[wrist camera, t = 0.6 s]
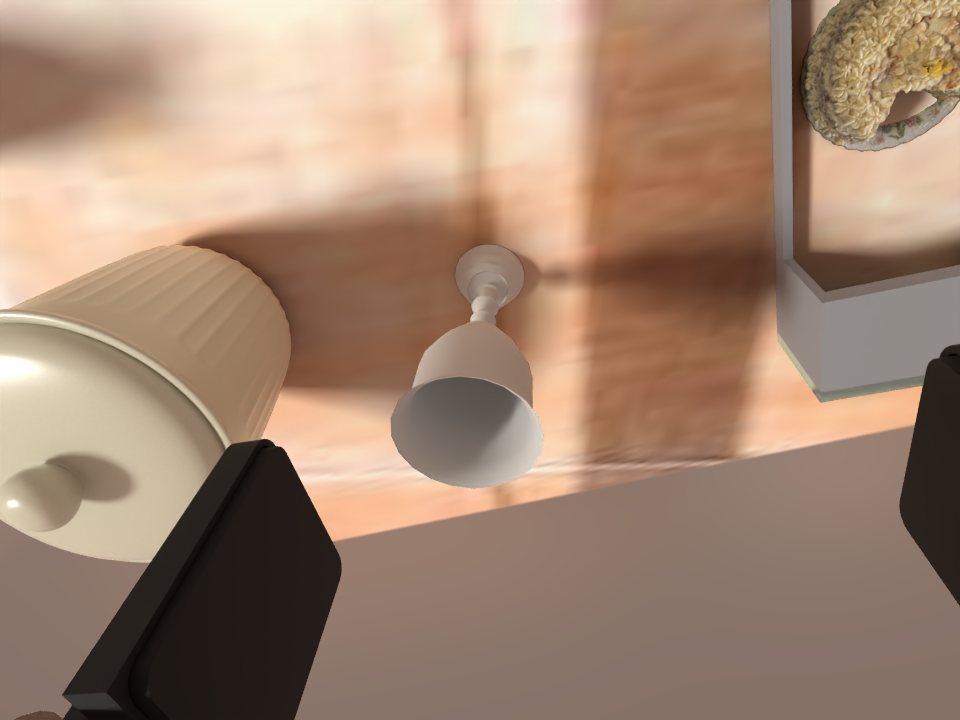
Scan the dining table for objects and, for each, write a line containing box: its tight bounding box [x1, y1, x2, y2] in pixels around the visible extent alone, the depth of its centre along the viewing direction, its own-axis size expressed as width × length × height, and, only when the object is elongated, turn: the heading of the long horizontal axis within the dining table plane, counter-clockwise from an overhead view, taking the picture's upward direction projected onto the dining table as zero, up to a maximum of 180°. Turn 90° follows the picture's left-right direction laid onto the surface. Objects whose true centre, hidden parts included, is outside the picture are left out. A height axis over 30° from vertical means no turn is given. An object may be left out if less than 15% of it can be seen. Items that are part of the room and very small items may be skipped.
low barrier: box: [770, 0, 960, 403], centre depth 33 cm, size 23×13×8 cm, turn 16°
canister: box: [0, 245, 291, 562], centre depth 38 cm, size 18×18×21 cm
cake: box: [800, 0, 960, 152], centre depth 32 cm, size 10×10×5 cm
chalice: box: [391, 244, 544, 488], centre depth 35 cm, size 7×7×18 cm
